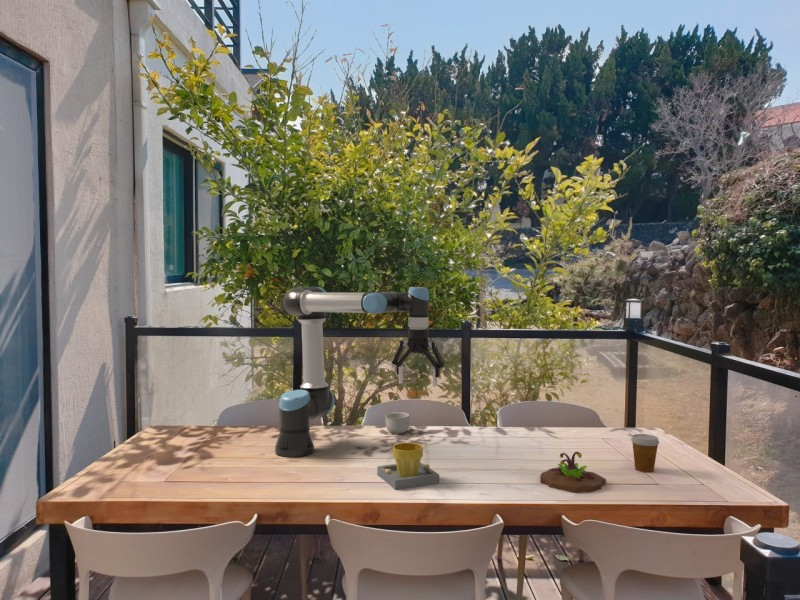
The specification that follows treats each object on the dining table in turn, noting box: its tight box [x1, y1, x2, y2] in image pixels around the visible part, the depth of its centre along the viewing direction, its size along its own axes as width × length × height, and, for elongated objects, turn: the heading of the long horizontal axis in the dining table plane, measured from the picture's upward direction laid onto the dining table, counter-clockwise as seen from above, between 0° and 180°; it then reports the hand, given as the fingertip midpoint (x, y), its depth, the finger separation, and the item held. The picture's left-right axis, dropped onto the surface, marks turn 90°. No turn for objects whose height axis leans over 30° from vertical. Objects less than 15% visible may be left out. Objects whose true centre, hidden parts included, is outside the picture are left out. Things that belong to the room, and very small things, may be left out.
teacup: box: [384, 411, 410, 435], centre depth 273 cm, size 14×11×8 cm
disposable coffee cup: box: [630, 433, 660, 473], centre depth 221 cm, size 10×10×12 cm
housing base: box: [376, 461, 440, 490], centre depth 209 cm, size 16×16×4 cm
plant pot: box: [392, 442, 424, 477], centre depth 209 cm, size 10×10×10 cm
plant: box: [539, 451, 607, 494], centre depth 207 cm, size 20×20×11 cm
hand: (417, 384), depth 229 cm, fingers open, 13 cm apart
